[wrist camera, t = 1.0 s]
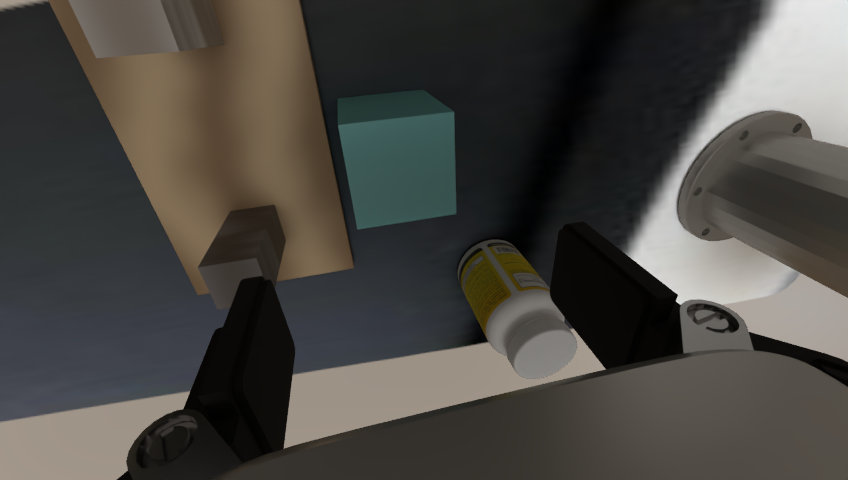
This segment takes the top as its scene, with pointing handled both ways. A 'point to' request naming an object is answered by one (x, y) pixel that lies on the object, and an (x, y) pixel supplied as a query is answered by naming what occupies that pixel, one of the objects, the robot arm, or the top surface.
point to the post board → (219, 131)
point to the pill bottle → (515, 309)
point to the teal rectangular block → (398, 157)
